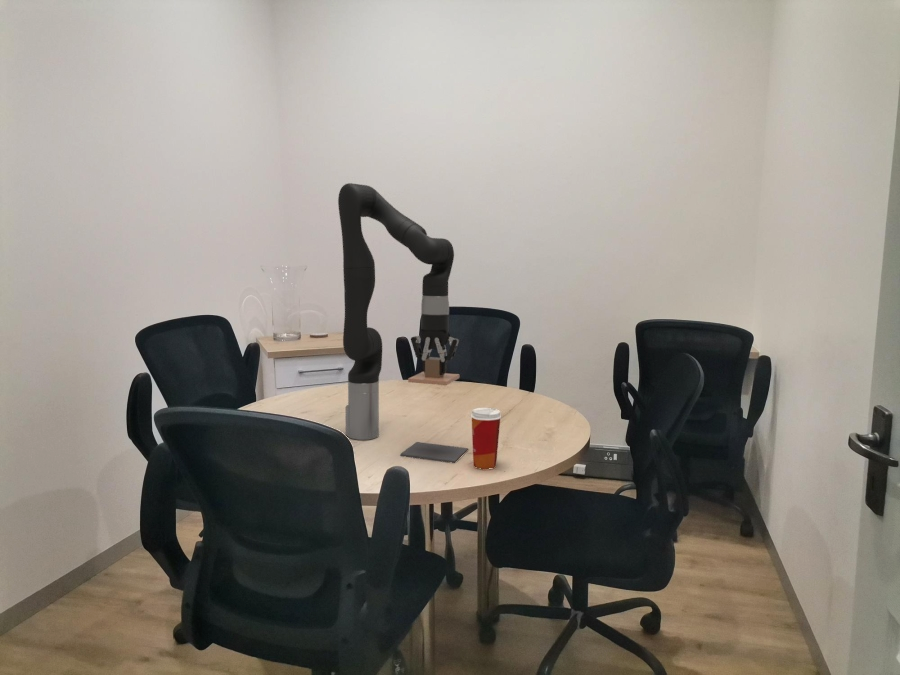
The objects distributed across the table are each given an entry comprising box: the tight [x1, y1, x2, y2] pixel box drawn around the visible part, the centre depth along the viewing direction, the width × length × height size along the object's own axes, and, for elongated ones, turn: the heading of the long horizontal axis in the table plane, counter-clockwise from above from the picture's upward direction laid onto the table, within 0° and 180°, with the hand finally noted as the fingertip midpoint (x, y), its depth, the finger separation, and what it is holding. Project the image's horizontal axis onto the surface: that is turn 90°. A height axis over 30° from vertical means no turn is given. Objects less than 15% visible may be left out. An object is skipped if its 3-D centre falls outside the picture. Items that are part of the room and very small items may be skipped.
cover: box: [407, 356, 461, 386], centre depth 170 cm, size 11×11×6 cm
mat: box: [399, 441, 469, 464], centre depth 174 cm, size 16×12×1 cm
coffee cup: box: [469, 407, 502, 470], centre depth 163 cm, size 8×8×15 cm
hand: (434, 373), depth 170 cm, fingers closed on cover, 4 cm apart
